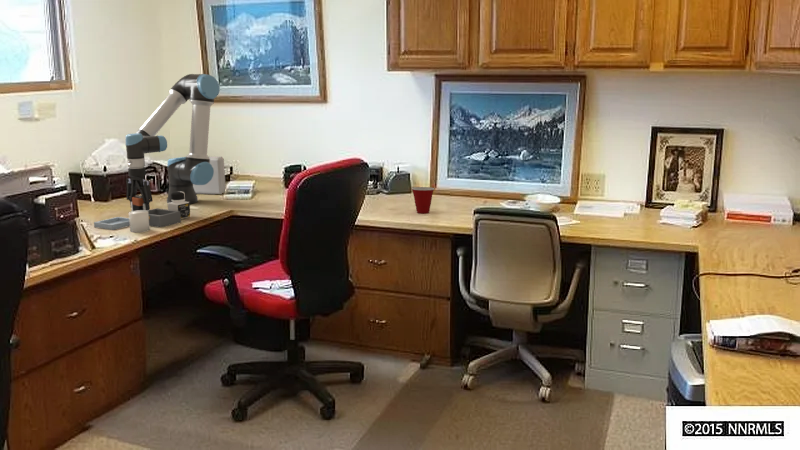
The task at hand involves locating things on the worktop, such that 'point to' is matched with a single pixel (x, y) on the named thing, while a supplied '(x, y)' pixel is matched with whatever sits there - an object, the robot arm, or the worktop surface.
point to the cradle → (163, 217)
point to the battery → (137, 203)
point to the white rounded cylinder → (139, 221)
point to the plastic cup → (422, 199)
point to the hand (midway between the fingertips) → (140, 215)
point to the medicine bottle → (179, 204)
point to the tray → (112, 223)
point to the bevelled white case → (214, 178)
